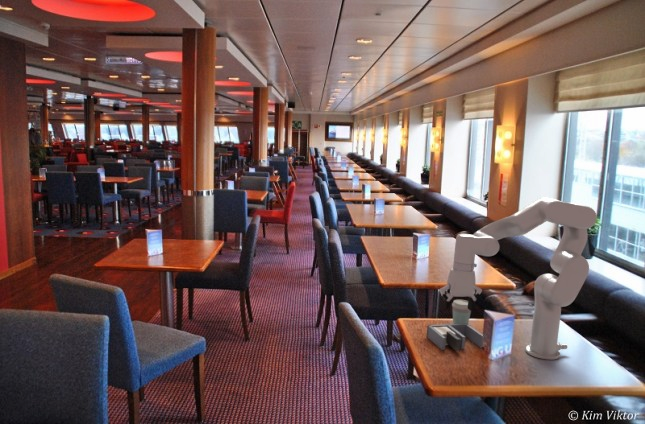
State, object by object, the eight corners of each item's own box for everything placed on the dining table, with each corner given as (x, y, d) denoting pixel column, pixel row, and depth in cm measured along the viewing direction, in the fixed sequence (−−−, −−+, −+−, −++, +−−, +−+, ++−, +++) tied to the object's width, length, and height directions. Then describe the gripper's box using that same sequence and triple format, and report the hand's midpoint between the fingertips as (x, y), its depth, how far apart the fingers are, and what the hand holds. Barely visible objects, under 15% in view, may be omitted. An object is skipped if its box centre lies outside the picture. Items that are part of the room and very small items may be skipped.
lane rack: (465, 334, 223) (467, 323, 222) (483, 348, 210) (484, 335, 209) (426, 336, 219) (427, 325, 218) (442, 350, 205) (443, 337, 205)
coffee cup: (472, 332, 226) (475, 305, 224) (452, 331, 226) (454, 304, 224) (467, 325, 234) (469, 299, 233) (448, 324, 234) (450, 298, 233)
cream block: (445, 337, 219) (446, 324, 218) (464, 352, 204) (465, 339, 203) (432, 337, 218) (433, 324, 217) (450, 353, 202) (451, 339, 202)
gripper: (478, 264, 205) (474, 306, 208) (437, 264, 201) (433, 307, 204) (489, 269, 198) (484, 313, 201) (447, 269, 194) (442, 314, 196)
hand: (458, 310), depth 202 cm, fingers open, 9 cm apart
